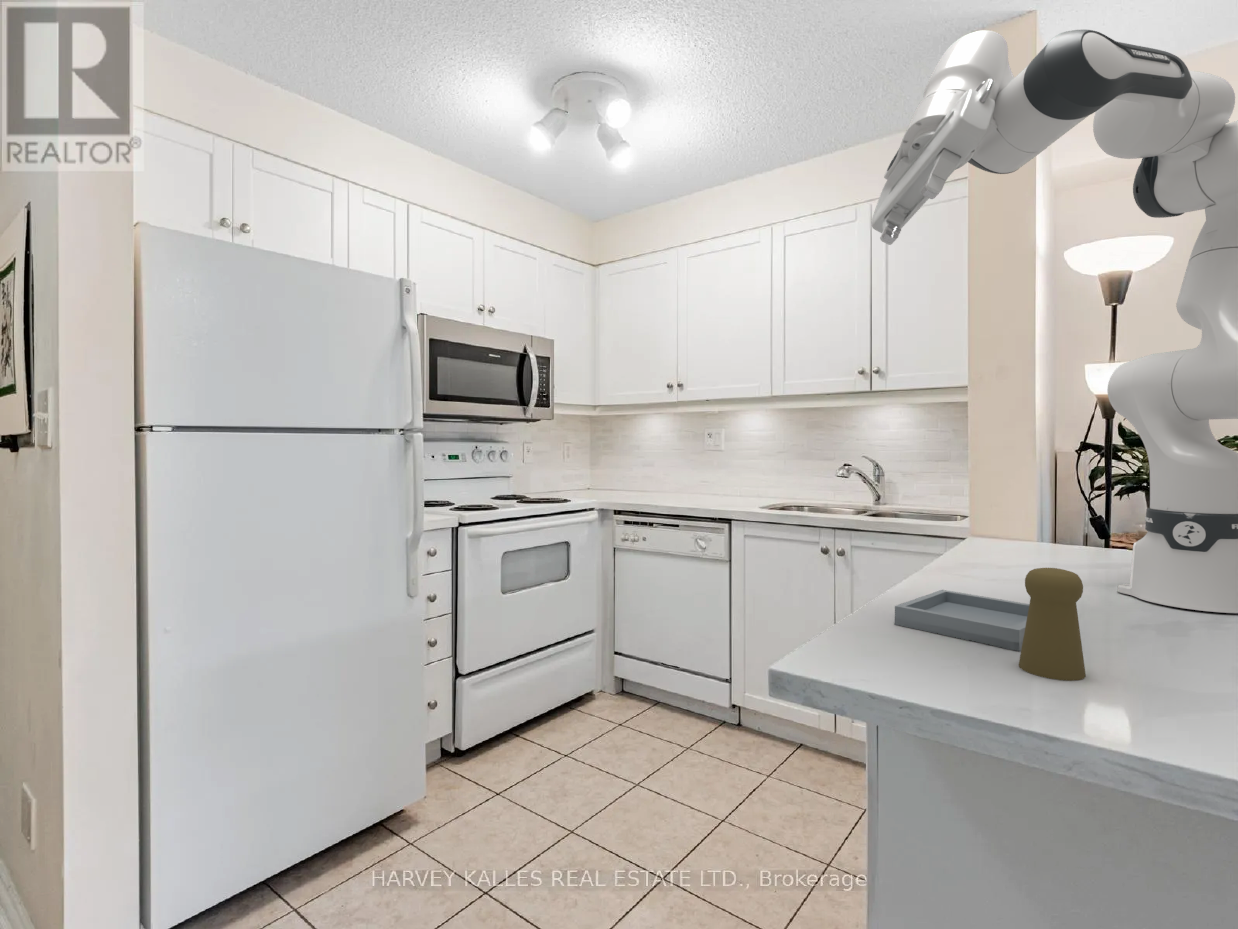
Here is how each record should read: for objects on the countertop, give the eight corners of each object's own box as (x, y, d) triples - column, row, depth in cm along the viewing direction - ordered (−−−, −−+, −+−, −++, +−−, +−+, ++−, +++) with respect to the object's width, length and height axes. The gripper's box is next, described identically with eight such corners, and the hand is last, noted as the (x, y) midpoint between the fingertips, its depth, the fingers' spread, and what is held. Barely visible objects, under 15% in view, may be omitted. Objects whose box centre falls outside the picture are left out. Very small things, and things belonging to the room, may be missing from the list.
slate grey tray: (941, 606, 98) (942, 589, 97) (1058, 627, 86) (1058, 609, 86) (894, 624, 88) (894, 606, 88) (1019, 651, 76) (1019, 630, 76)
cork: (1099, 681, 67) (1102, 575, 67) (1040, 680, 67) (1043, 574, 67) (1061, 661, 73) (1063, 564, 73) (1006, 660, 73) (1008, 563, 73)
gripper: (1021, 82, 73) (987, 172, 70) (919, 197, 93) (888, 272, 89) (972, 56, 73) (934, 145, 70) (880, 177, 93) (847, 251, 89)
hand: (907, 217), depth 80 cm, fingers open, 8 cm apart
